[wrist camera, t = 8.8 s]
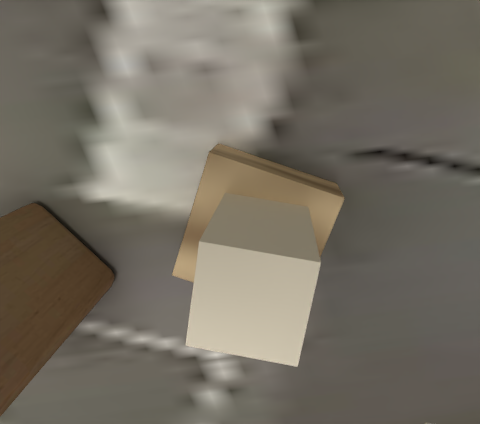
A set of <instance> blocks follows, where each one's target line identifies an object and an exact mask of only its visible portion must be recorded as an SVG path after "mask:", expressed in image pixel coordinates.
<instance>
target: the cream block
mask: <svg viewBox="0 0 480 424" xmlns="http://www.w3.org/2000/svg"><path fill="white" fill-rule="evenodd" d="M320 265H321V261H320V256H319V252H318V247H317V243H316V238H315V234H314V230H313V225H312V221H311V216H310V212H309V207H307V206H301V205H295V204H289V203H283V202H278V201H272V200H266V199H260V198H254V197H248V196H242V195H237V194H231V193H225V194H224V195H223V197H222V199H221V201H220V203H219V205H218V207H217V209H216V211H215V212H214V214H213V216H212V218H211V220H210V222H209V224H208V226H207V227H206V229H205V231H204V233H203V235H202V237H201V239H200V241H199V247H198V254H197V262H196V270H195V277H194V285H193V293H192V300H191V308H190V316H189V323H188V331H187V339H186V346H190V347H196V348H201V349H206V350H212V351H217V352H222V353H228V354H233V355H238V356H244V357H249V358H254V359H260V360H265V361H270V362H275V363H281V364H286V365H291V366H297V367H298V362H299V358H300V353H301V349H302V344H303V340H304V336H305V331H306V327H307V322H308V318H309V313H310V309H311V305H312V300H313V296H314V291H315V287H316V282H317V278H318V274H319V269H320Z"/></svg>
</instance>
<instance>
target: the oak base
mask: <svg viewBox="0 0 480 424" xmlns="http://www.w3.org/2000/svg"><path fill="white" fill-rule="evenodd" d="M225 193H231V194H237V195H242V196H248V197H254V198H260V199H266V200H272V201H278V202H283V203H289V204H295V205H301V206H307V207H309V212H310V216H311V221H312V225H313V230H314V234H315V238H316V243H317V247H318V252H319V256H321V254H322V251H323V249H324V247H325V244H326V242H327V239H328V237H329V235H330V232H331V230H332V228H333V225H334V223H335V220H336V218H337V216H338V213H339V211H340V208H341V206H342V204H343V201H344V199H345V198H344V196H343V194H342V192H341V191H340V189H339V187H338V185H337V183H334V182H331V181H328V180H325V179H322V178H319V177H316V176H313V175H310V174H307V173H304V172H301V171H298V170H295V169H292V168H289V167H287V166H284V165H281V164H278V163H275V162H272V161H269V160H266V159H263V158H260V157H257V156H254V155H251V154H248V153H245V152H242V151H239V150H236V149H234V148H231V147H228V146H225V145H222V144H217V145H216V146H215V147H214V148H213V149H212V150H211V151H210V152H209V154H208V157H207V161H206V164H205V167H204V171H203V174H202V177H201V181H200V184H199V187H198V191H197V194H196V197H195V201H194V204H193V207H192V210H191V214H190V217H189V220H188V224H187V227H186V230H185V234H184V237H183V240H182V244H181V247H180V250H179V254H178V257H177V260H176V264H175V267H174V270H173V274H172V275H173V276H176V277H179V278H182V279H185V280H188V281H191V282H194V277H195V270H196V262H197V254H198V247H199V241H200V239H201V237H202V235H203V233H204V231H205V229H206V227H207V226H208V224H209V222H210V220H211V218H212V216H213V214H214V212H215V211H216V209H217V207H218V205H219V203H220V201H221V199H222V197H223V195H224V194H225Z"/></svg>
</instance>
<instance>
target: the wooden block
mask: <svg viewBox="0 0 480 424" xmlns="http://www.w3.org/2000/svg"><path fill="white" fill-rule="evenodd" d="M113 280H114V274H113V272H112V270H111V269H110V268H109V267H108V266H107V265H105V264H104V263H103V262H102V261H101V260H100V259H99V258H98V257H97V256H96V255H95V254H93V253H92V252H91V251H90V250H89V249H88V248H87V247H86V246H85V245H84V244H83V243H82V242H80V241H79V240H78V239H77V238H76V237H75V236H74V235H73V234H72V233H71V232H70V231H69V230H67V229H66V228H65V227H64V226H63V225H62V224H61V223H60V222H59V221H58V220H57V219H56V218H54V217H53V216H52V215H51V214H50V213H49V212H48V211H47V210H46V209H45V208H44V207H42V206H40V205H38V204H36V203H31V204H29V205H26V206H24V207H22V208H20V209H18V210H15V211H13V212H11V213H9V214H7V215H5V216H3V217H1V218H0V416H1V415H2V414H3V413H4V412H5V410H6V409H7V408H8V407H9V406H10V405H11V403H12V402H13V401H14V400H15V399H16V398H17V396H18V395H19V394H20V393H21V392H22V390H23V389H24V388H25V387H26V386H27V385H28V383H29V382H30V381H31V380H32V379H33V378H34V376H35V375H36V374H37V373H38V372H39V370H40V369H41V368H42V367H43V366H44V365H45V363H46V362H47V361H48V360H49V359H50V358H51V356H52V355H53V354H54V353H55V352H56V350H57V349H58V348H59V347H60V346H61V345H62V343H63V342H64V341H65V340H66V339H67V338H68V336H69V335H70V334H71V333H72V332H73V331H74V329H75V328H76V327H77V326H78V325H79V323H80V322H81V321H82V320H83V319H84V318H85V316H86V315H87V314H88V313H89V312H90V311H91V309H92V308H93V307H94V306H95V305H96V303H97V302H98V301H99V300H100V299H101V298H102V296H103V295H104V294H105V293H106V292H107V291H108V289H109V288H110V287H111V286H112V283H113Z"/></svg>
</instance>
